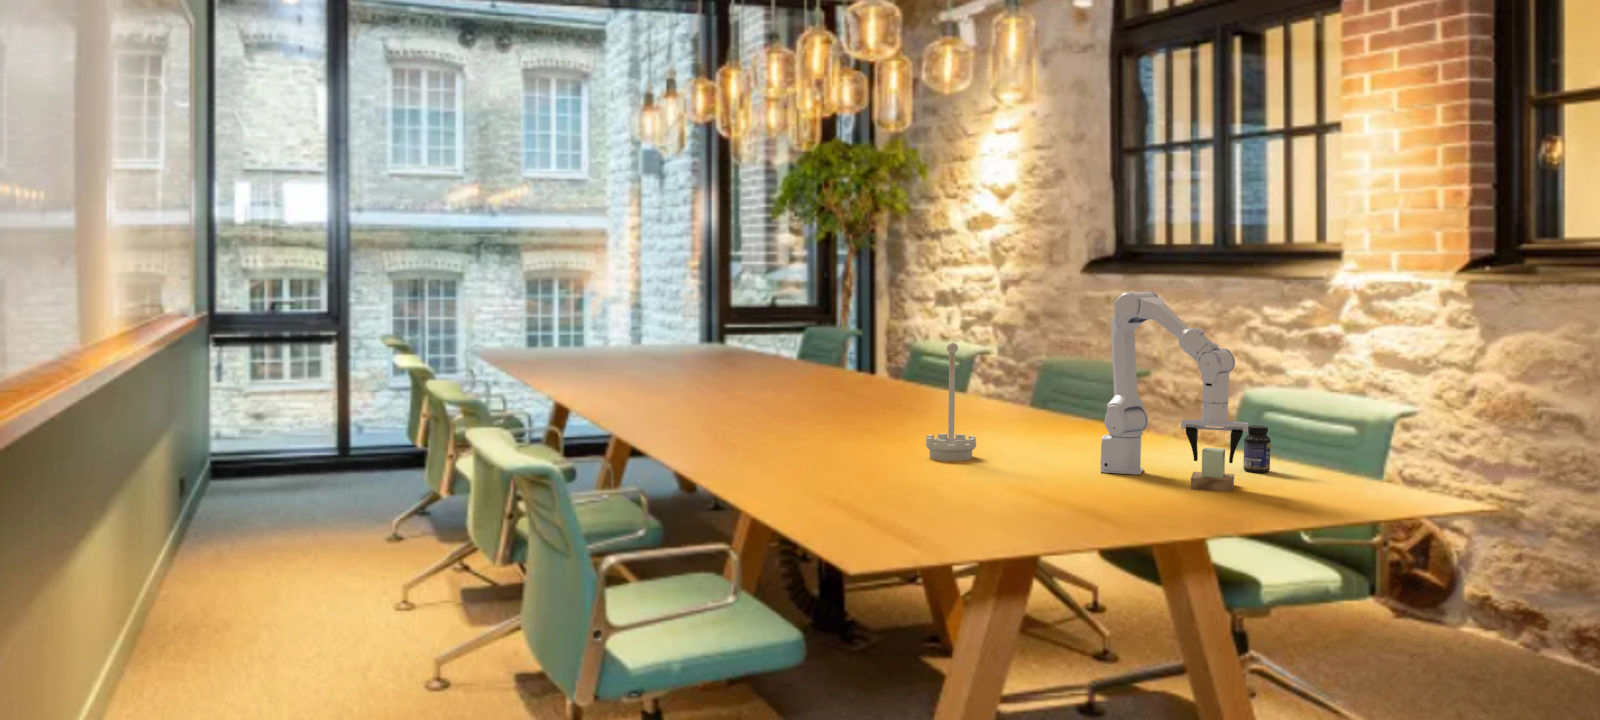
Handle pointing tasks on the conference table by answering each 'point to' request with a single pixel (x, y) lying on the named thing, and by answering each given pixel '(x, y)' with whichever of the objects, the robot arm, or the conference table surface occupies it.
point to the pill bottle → (1257, 450)
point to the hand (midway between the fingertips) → (1213, 461)
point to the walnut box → (1212, 482)
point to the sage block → (1213, 462)
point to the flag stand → (951, 426)
